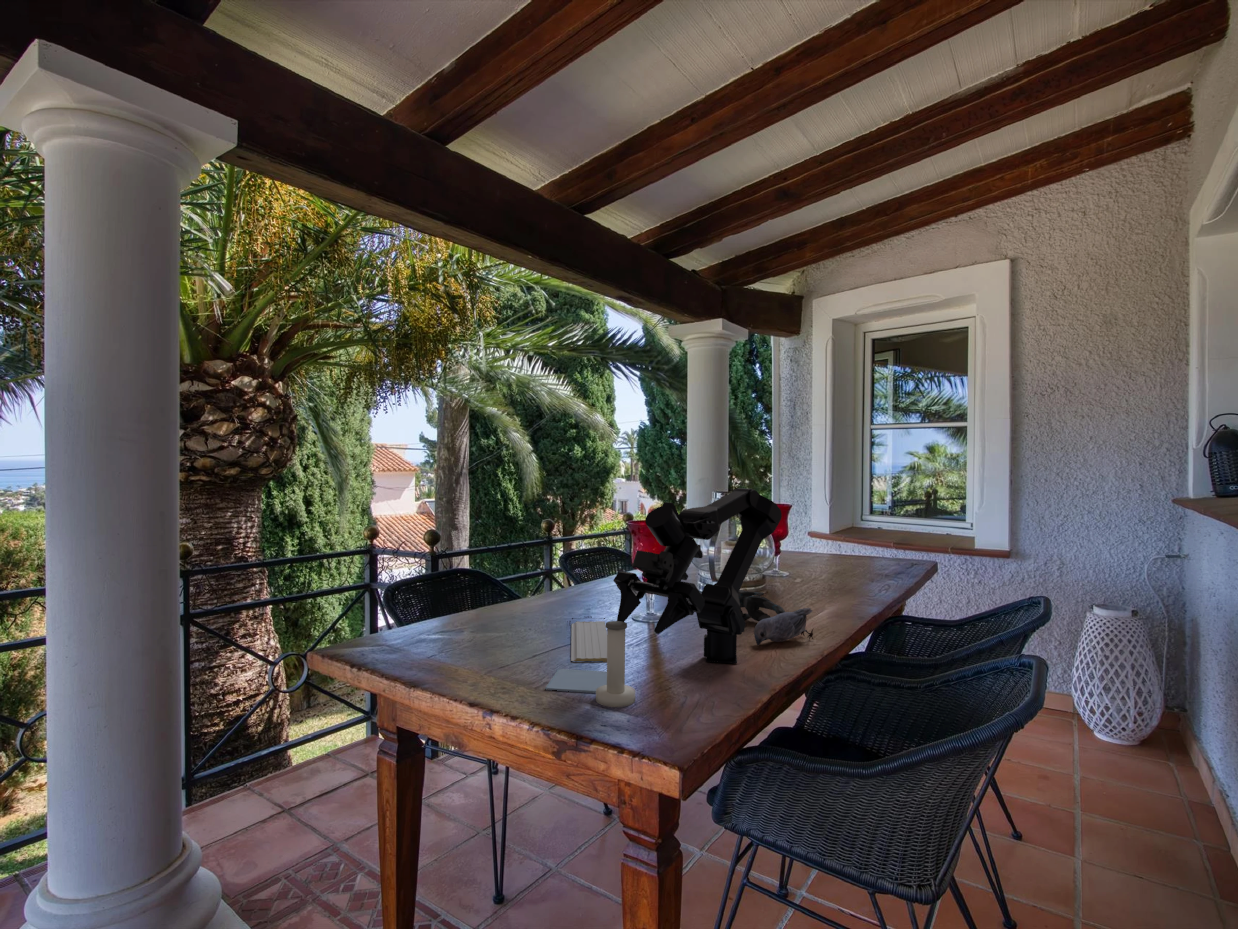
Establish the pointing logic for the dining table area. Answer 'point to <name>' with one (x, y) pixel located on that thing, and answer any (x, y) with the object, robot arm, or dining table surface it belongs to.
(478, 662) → the dining table surface
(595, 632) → the baseboard
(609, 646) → the paper towel holder
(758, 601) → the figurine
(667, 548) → the robot arm
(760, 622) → the bird
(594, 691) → the felt pad
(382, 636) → the dining table surface
